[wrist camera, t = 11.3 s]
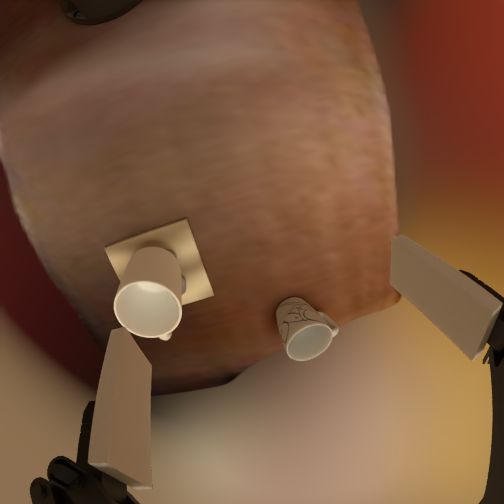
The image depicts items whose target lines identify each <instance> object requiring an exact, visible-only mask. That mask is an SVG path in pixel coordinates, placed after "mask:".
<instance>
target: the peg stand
mask: <svg viewBox="0 0 504 504" xmlns="http://www.w3.org/2000/svg"><path fill="white" fill-rule="evenodd" d="M145 247H160V248H163V249H165V250H167V251H169V252H170V253H172V254H173V255H174V256H175V258H176V259H177V261H178V262H179V265H180V268H181V284H182V305H184V304H187V303H191V302H194V301H197V300H200V299H204V298H207V297H210V296H213V295H214V292H213V289H212V287H211V284H210V281H209V279H208V276H207V273H206V270H205V268H204V265H203V262H202V259H201V257H200V254H199V251H198V248H197V245H196V243H195V240H194V237H193V234H192V231H191V228H190V225H189V222H188V219H187V217H186V218H183V219H180V220H177V221H174V222H171V223H168V224H165V225H162V226H159V227H157V228H154V229H151V230H148V231H145V232H142V233H139V234H137V235H134V236H131V237H128V238H126V239H123V240H120V241H117V242H115V243H112V244H109V245H107V246H105V248H104V249H105V251H106V253H107V255H108V257H109V260H110V262H111V264H112V266H113V268H114V270H115V272H116V274H117V276H118V278H119V280H120V282H121V280H122V277H123V274H124V272H125V269H126V266H127V264H128V262H129V260H130V258H131V257H132V256H133V254H134V253H136V252H137V251H138V250H140V249H142V248H145Z"/></svg>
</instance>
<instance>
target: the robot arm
mask: <svg viewBox="0 0 504 504" xmlns="http://www.w3.org/2000/svg"><path fill="white" fill-rule="evenodd" d="M141 1H142V0H60V6H61V9H62V11H63V13H64V14H65V15H66V16H67V17H68V18H69V19H70V20H71V21H73V22H75V23H78V24H82V25H94V24H100V23H104V22H107V21H110V20H113V19H115V18H117V17H119V16H121V15H123V14H125V13H126V12H128V11H130V10H131V9H132V8H134V7H135V6H136V5H137V4H139V3H140V2H141ZM390 285H392V286H393V287H394V288H395V289H396V290H397V291H398V292H400V293H401V294H402V295H403V296H404V297H405V298H406V299H408V300H409V301H410V302H411V303H412V304H413V305H414V306H415V307H416V308H417V309H418V310H420V311H421V312H422V313H423V314H424V315H425V316H426V317H427V318H428V319H429V320H430V321H431V322H432V323H433V324H435V325H436V326H437V327H438V328H439V329H440V330H441V331H442V332H443V333H444V334H445V335H446V336H447V337H448V338H449V339H450V340H451V341H452V342H453V343H454V344H455V345H456V346H457V347H458V348H459V349H460V350H461V351H462V352H463V353H464V354H465V355H466V356H467V357H468V358H469V359H470V360H471V361H473V360H474V359H475V358H476V357H477V356H479V355H480V354H481V353H482V351H483V349H484V347H485V345H486V343H488V344H489V345H490V347H489V349H488V351H487V353H486V355H485V357H484V359H483V364H485V362H486V360H487V358H488V357H489V361H488V364H490V370H491V383H492V399H493V400H492V405H493V424H492V425H493V426H492V444H491V456H490V466H489V472H488V479H487V485H486V490H485V494H484V497H483V499H482V500H481V501H480V503H479V504H504V298H503V297H502V296H501V295H500V294H498V293H497V292H495V291H494V290H493V289H492V288H490V287H489V286H488V285H485V284H484V283H483V282H482V281H480V280H478V278H476V277H475V276H474V275H472V274H471V273H468V272H466V271H463V270H457V269H456V268H454V267H453V266H451V265H450V264H448V263H447V262H445V261H444V260H442V259H441V258H439V257H437V256H436V255H435V254H433V253H431V252H430V251H428V250H427V249H425V248H424V247H422V246H420V245H419V244H417V243H415V242H414V241H412V240H411V239H409V238H407V237H406V236H404V235H400V236H397V237H395V238H392V239H391V271H390ZM151 372H152V366H151V364H150V363H149V361H148V360H147V358H146V357H145V356H144V354H143V353H142V351H141V350H140V348H139V347H138V345H137V344H136V342H135V341H134V339H133V338H132V336H131V335H130V333H129V331H128V330H127V328H126V327H122V328H118V329H114V330H112V331H111V334H110V338H109V342H108V346H107V350H106V354H105V359H104V363H103V367H102V372H101V377H100V381H99V387H98V392H97V397H96V401H89V403H88V405H87V407H86V409H85V410H84V413H83V418H82V425H81V433H80V437H79V444H78V453H77V461H76V463H75V462H73V461H72V460H70V459H69V458H67V457H64V456H57V457H56V458H54V459H53V460H52V461H51V462H50V464H49V466H48V469H47V476H48V479H49V481H48V480H46V479H44V478H42V477H39V478H36V479H34V480H33V482H32V483H31V486H30V495H31V499H32V503H33V504H140V503H139V502H138V501H137V500H136V499H135V498H134V497H133V496H132V495H131V494H130V493H129V492H128V491H127V485H128V486H130V487H132V488H134V489H152V488H153V485H152V470H151V446H150V398H151Z"/></svg>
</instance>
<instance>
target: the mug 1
mask: <svg viewBox="0 0 504 504" xmlns="http://www.w3.org/2000/svg"><path fill="white" fill-rule="evenodd" d="M114 311H115V315H116V317H117V319H118V321H119V322H120V323H121V325H122V326H123V327H126V328H127V330H128V331H130V332H132V333H133V334H136V335H138V336H142V337H149V338H155V337H159V338H160V339H162V340H168V339H169V338H170V337H171V335H172V331H173V330H174V329H175V328H176V327H177V326H178V324H179V322H180V320H181V316H182V284H181V268H180V265H179V262H178V261H177V259H176V258H175V256H174V255H173V254H172V253H170V252H169V251H167V250H165V249H163V248H160V247H145V248H142V249H140V250H138V251H137V252H136V253H134V254H133V256H132V257H131V258H130V260H129V262H128V264H127V266H126V269H125V272H124V274H123V277H122V280H121V283H120V285H119V288H118V291H117V294H116V297H115V300H114Z"/></svg>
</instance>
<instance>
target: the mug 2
mask: <svg viewBox="0 0 504 504" xmlns="http://www.w3.org/2000/svg"><path fill="white" fill-rule="evenodd" d="M276 319H277V324H278V328H279V333H280V336H281V339H282V342H283V345H284V347H285V350H286V352H287V354H288V356H289V357H290V358H292V359H294V360H297V361H305V360H309V359H312V358H315V357H316V356H318V355H320V354H321V353H322V352H323V351H325V350H326V349H327V347H328V346H329V345H330V343H331V340H332V337H333V336H335V335H336V334H337V333H338V330H339V327H338V326H337V324H336V323H335V322H334V321H333V320H332V319H330V318H329V317H328V316H327V315H326V314H325V313H323V312H318V311H317V312H316V311H315V310H314V309H313V308H312V307H311V306H310V305H309V304H308V303H307V302H305V301H304V300H303V299H301V298H298V297H291V298H288V299H286V300H284V301H283V302H281V303H280V305H279V306H278V308H277V310H276Z"/></svg>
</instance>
